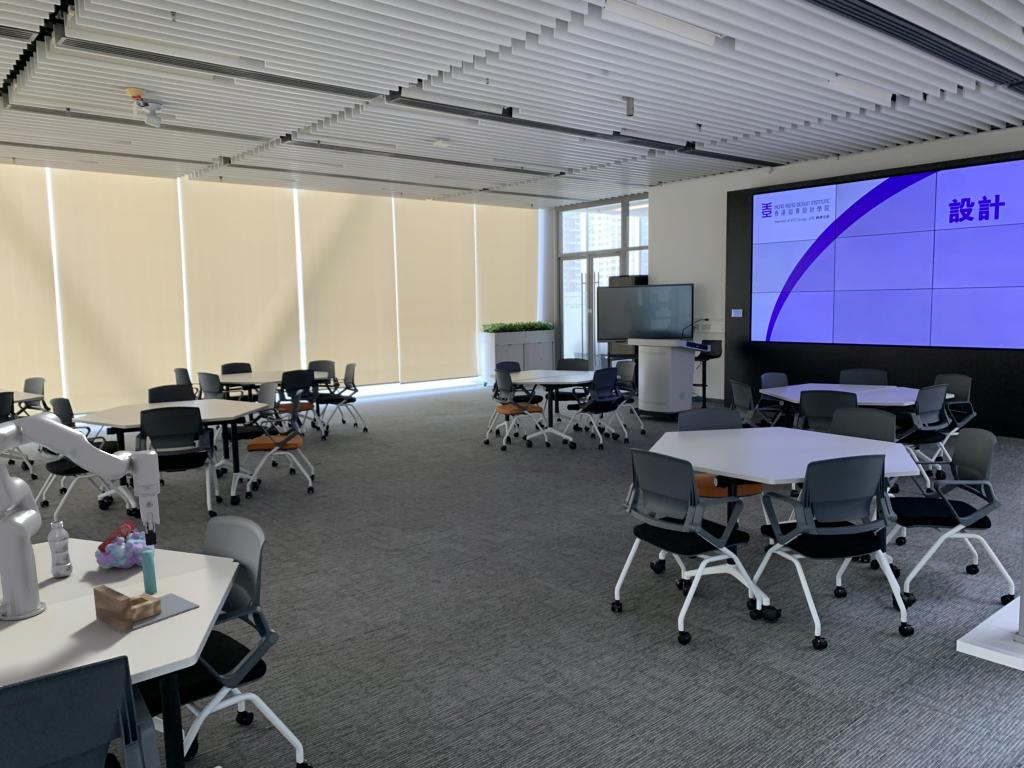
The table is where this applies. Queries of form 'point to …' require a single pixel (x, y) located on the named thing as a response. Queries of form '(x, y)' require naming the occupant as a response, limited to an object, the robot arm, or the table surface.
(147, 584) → the dowel
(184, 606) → the slate base
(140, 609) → the oak block
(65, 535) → the plastic bottle
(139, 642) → the table surface
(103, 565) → the cotton candy cloud
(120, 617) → the walnut wall
